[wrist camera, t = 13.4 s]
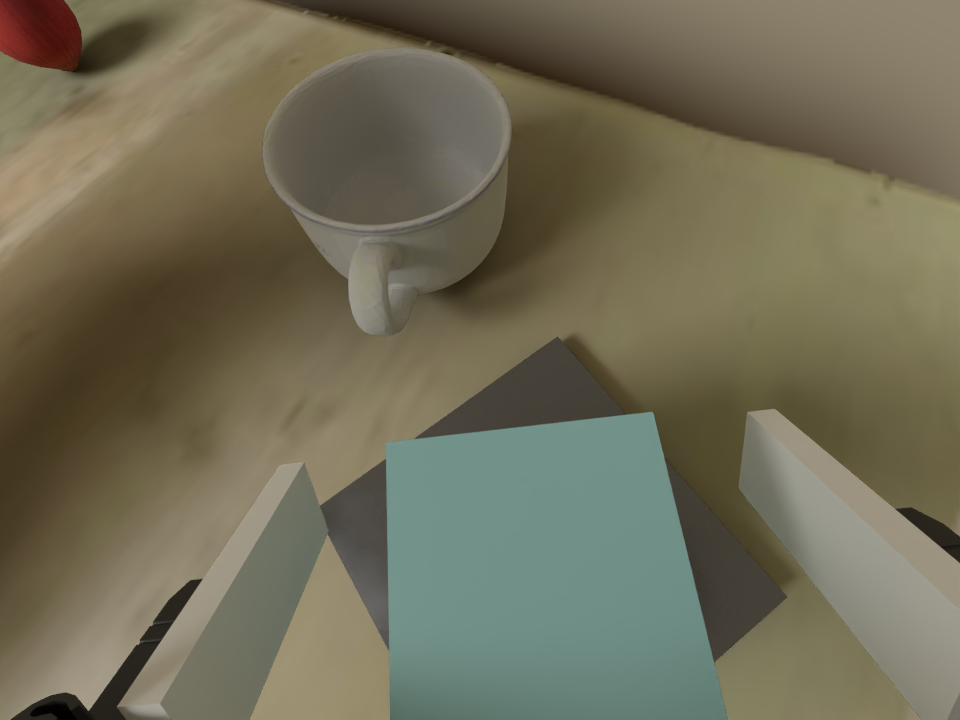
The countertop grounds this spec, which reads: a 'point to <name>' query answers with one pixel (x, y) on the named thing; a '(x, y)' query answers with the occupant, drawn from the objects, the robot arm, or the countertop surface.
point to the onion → (40, 33)
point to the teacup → (393, 173)
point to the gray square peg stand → (544, 400)
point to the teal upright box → (542, 578)
